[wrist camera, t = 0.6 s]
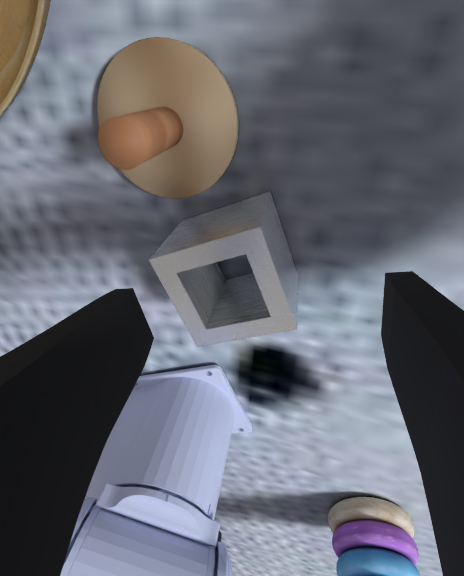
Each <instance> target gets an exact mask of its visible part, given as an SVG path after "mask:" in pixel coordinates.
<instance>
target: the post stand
mask: <svg viewBox="0 0 464 576" xmlns="http://www.w3.org/2000/svg"><path fill="white" fill-rule="evenodd" d="M97 115H98V123H99V131H98V145H99V148H100V151H101V153H102V155H103V156H104V158H105V159H106V160H107V161H108V162H109V163H110V164H111V165H113V166H114V167H116V168H118V169H120V171H121V172H122V173H123V174H124V175H125V176H126V177H127V178H128V179H129V180H130V181H132V182H133V183H134V184H135V185H137V186H138V187H140V188H141V189H143V190H145V191H147V192H149V193H151V194H154V195H156V196H160V197H164V198H171V199H181V198H188V197H192V196H195V195H197V194H200V193H202V192H204V191H205V190H207V189H208V188H210V187H211V186H212V185H213V184H214V183H216V182H217V180H218V179H219V178H220V177H221V176H222V175H223V173H224V172H225V171H226V169H227V168H228V166H229V164H230V162H231V160H232V158H233V156H234V153H235V150H236V146H237V141H238V134H239V118H238V111H237V106H236V102H235V98H234V95H233V93H232V90H231V88H230V86H229V84H228V82H227V80H226V78H225V76H224V75H223V74H222V72H221V71H220V69H219V68H218V67H217V66H216V65H215V63H214V62H213V61H212V60H211V59H210V58H209V57H207V56H206V55H205V54H204V53H203V52H201V51H200V50H198V49H196V48H195V47H193V46H191V45H188V44H186V43H184V42H180V41H177V40H173V39H169V38H160V37H155V38H146V39H142V40H138V41H136V42H134V43H132V44H130V45H128V46H127V47H125V48H124V49H122V50H121V51H120V52H119V53H118V54H117V55H116V56H115V57H114V58H113V60H112V61H111V62H110V64H109V65H108V67H107V69H106V71H105V73H104V75H103V77H102V80H101V83H100V87H99V92H98V100H97Z"/></svg>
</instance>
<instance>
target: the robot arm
mask: <svg viewBox="0 0 464 576" xmlns="http://www.w3.org/2000/svg"><path fill="white" fill-rule="evenodd" d="M381 336H382V342H383V347H384V353H385V358H386V363H387V368H388V371H389V375H390V378H391V381H392V384H393V387H394V390H395V393H396V396H397V399H398V402H399V405H400V408H401V411H402V415H403V418H404V421H405V424H406V427H407V430H408V433H409V436H410V439H411V442H412V445H413V448H414V451H415V454H416V458H417V461H418V465H419V468H420V472H421V476H422V480H423V485H424V489H425V494H426V498H427V503H428V507H429V512H430V516H431V520H432V525H433V530H434V535H435V539H436V544H437V549H438V554H439V558H440V563H441V568H442V572H443V576H464V311H463V310H462V309H461V308H459V307H458V306H457V305H455V304H454V303H453V302H451V301H450V300H449V299H447V298H446V297H445V296H443V295H442V294H441V293H440V292H438V291H437V290H436V289H434V288H433V287H432V286H431V285H429V284H428V283H427V282H426V281H424V280H423V279H422V278H420V277H419V276H418V275H416V274H415V273H414V272H412V271H411V272H394V273H385V286H384V300H383V315H382V329H381ZM153 339H154V337H153V335H152V332H151V330H150V328H149V325H148V323H147V321H146V318H145V316H144V313H143V311H142V309H141V306H140V304H139V302H138V299H137V297H136V295H135V292H134V290H133V288H129V289H115V290H113V291H111V292H109V293H107V294H105V295H103V296H102V297H100V298H98V299H96V300H95V301H93V302H91V303H90V304H88V305H86V306H85V307H83V308H81V309H80V310H78V311H77V312H75V313H73V314H72V315H70V316H69V317H67V318H65V319H64V320H62V321H61V322H59V323H57V324H56V325H54V326H53V327H51V328H49V329H48V330H46V331H44V332H43V333H41V334H39V335H37V336H36V337H34V338H32V339H31V340H29V341H27V342H26V343H24V344H22V345H20V346H19V347H17V348H15V349H14V350H12V351H10V352H8V353H6V354H5V355H3V356H1V357H0V576H232V564H231V560H230V557H229V555H228V551H227V548H226V546H225V544H224V543H221V542H218V541H217V538H218V533H219V528H220V523H218V522H216V521H214V518H215V513H216V508H217V503H218V498H219V493H220V488H221V483H222V478H223V473H224V468H225V463H226V458H227V453H228V448H229V443H230V438H231V434H235V433H248V432H251V431H252V425H251V423H250V421H249V419H248V417H247V415H246V413H245V411H244V410H243V408H242V406H241V404H240V402H239V400H238V398H237V397H236V395H235V393H234V391H233V389H232V387H231V385H230V384H229V382H228V380H227V378H226V376H225V374H224V372H223V371H222V369H221V367H219V366H218V365H209V366H203V367H196V368H190V369H183V370H177V371H170V372H164V373H157V374H151V375H144V376H140V374H141V372H142V370H143V368H144V366H145V363H146V360H147V357H148V355H149V352H150V349H151V345H152V342H153ZM208 371H209V372H208ZM85 496H86V497H87V498H85Z"/></svg>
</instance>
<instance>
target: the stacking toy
mask: <svg viewBox="0 0 464 576" xmlns="http://www.w3.org/2000/svg"><path fill="white" fill-rule="evenodd" d="M328 523H329V527H330V529H331V531H332V532H333V537H332V545H333V549H334V551H335V553H336V555H337V556H338V557H339V559H338V561H337V575H338V576H420V573H419V571H418V569H417V568H416V566H415V565H416V563H417V561H418V557H419V554H418V549H417V546H416V543H415V542H414V540H413V536H414V524H413V522H412V519H411V518H410V516H409V515H408V514H407V512H406V511H404V510H403V509H402V508H401V507H399V506H397V505H395V504H393V503H391V502H388V501H386V500H382V499H378V498H372V497H353V498H348V499H345V500H342V501H340V502H338V503H336V504H335V505H334V506H333V507H332V508H331V509H330V511H329V514H328Z"/></svg>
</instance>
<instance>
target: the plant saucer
mask: <svg viewBox="0 0 464 576" xmlns="http://www.w3.org/2000/svg"><path fill="white" fill-rule="evenodd" d="M50 1H51V0H0V116H1V115H2V114H3V113H4V112H5V111H6V109H7V108H8V107H9V106H10V104H11V103H12V102H13V100H14V99H15V97H16V96H17V94H18V92H19V91H20V89H21V88H22V86H23V84H24V82H25V80H26V78H27V76H28V74H29V71H30V69H31V67H32V64H33V62H34V60H35V57H36V55H37V52H38V49H39V46H40V43H41V40H42V36H43V33H44V29H45V25H46V21H47V16H48V11H49V7H50Z"/></svg>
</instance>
